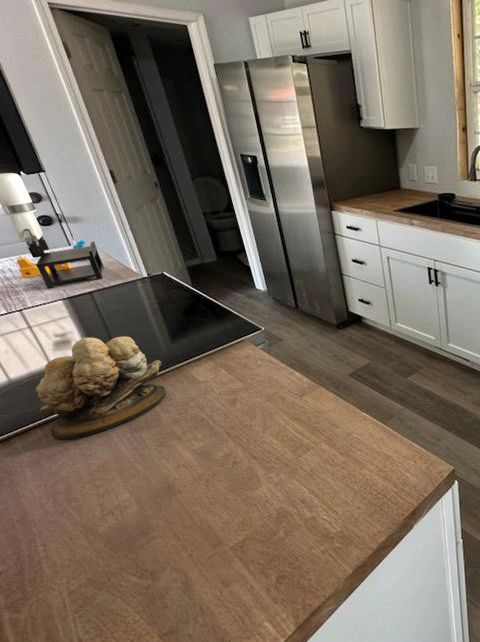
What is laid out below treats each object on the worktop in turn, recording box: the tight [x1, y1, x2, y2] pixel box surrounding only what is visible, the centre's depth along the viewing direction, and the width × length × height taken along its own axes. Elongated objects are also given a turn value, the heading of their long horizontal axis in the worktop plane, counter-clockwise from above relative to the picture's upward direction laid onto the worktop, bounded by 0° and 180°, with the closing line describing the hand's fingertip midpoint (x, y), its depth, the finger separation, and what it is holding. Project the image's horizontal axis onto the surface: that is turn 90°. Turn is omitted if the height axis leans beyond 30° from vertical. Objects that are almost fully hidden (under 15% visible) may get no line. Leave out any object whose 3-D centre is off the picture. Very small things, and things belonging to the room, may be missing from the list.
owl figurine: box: [35, 336, 167, 441], centre depth 79 cm, size 18×12×17 cm, turn 137°
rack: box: [36, 240, 105, 290], centre depth 149 cm, size 14×16×11 cm
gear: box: [72, 239, 89, 261], centre depth 169 cm, size 11×6×10 cm
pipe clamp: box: [16, 257, 72, 279], centre depth 155 cm, size 12×4×6 cm, turn 130°
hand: (41, 253), depth 154 cm, fingers open, 9 cm apart
